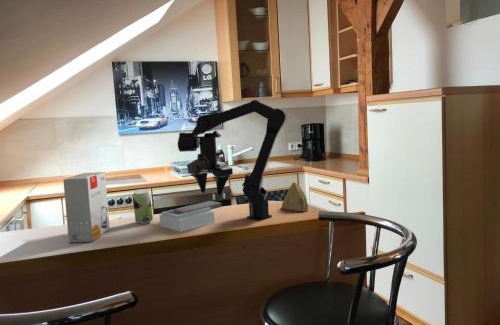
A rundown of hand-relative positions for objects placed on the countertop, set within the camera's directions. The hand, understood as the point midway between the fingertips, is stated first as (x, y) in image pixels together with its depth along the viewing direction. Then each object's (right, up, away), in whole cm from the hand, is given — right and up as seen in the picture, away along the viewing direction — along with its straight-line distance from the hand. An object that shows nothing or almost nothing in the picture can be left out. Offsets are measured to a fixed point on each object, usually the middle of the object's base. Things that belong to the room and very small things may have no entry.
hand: (211, 193), depth 149 cm
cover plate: (-4, -5, -4) cm, 8 cm away
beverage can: (-24, -10, -1) cm, 26 cm away
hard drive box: (-38, -13, -14) cm, 42 cm away
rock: (+31, -7, +7) cm, 32 cm away
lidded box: (-8, -10, -7) cm, 14 cm away
